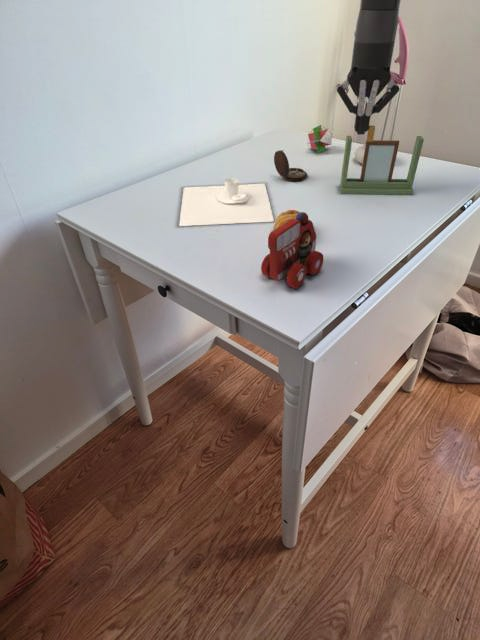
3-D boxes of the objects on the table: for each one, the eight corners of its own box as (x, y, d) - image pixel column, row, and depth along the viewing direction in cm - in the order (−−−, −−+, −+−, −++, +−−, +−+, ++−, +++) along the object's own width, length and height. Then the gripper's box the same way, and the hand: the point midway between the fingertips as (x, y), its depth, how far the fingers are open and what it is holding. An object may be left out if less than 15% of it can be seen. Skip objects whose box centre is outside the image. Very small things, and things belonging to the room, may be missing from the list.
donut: (386, 155, 117) (350, 154, 117) (389, 142, 115) (352, 142, 115) (395, 168, 110) (356, 168, 110) (398, 155, 107) (359, 154, 108)
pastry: (314, 247, 80) (315, 229, 78) (279, 249, 80) (279, 231, 78) (304, 224, 88) (305, 207, 85) (272, 226, 87) (272, 209, 85)
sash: (389, 184, 99) (401, 125, 90) (390, 186, 98) (403, 127, 89) (359, 184, 99) (368, 125, 91) (359, 186, 98) (369, 127, 90)
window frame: (408, 187, 100) (420, 134, 92) (411, 194, 97) (424, 140, 89) (339, 186, 102) (346, 134, 94) (340, 193, 99) (347, 140, 91)
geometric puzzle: (296, 142, 120) (313, 121, 114) (310, 136, 124) (326, 115, 117) (312, 162, 120) (329, 142, 113) (325, 155, 124) (342, 135, 117)
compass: (311, 178, 106) (314, 148, 101) (284, 185, 103) (285, 154, 98) (294, 168, 111) (296, 139, 107) (268, 174, 109) (268, 144, 104)
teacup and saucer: (251, 206, 95) (250, 188, 92) (215, 207, 95) (214, 190, 92) (248, 190, 101) (248, 173, 99) (215, 191, 101) (214, 174, 99)
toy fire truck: (328, 265, 76) (335, 211, 69) (287, 297, 69) (290, 241, 62) (296, 252, 79) (300, 200, 72) (254, 282, 72) (254, 227, 66)
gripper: (341, 41, 78) (330, 139, 89) (414, 40, 77) (394, 139, 88) (338, 36, 84) (328, 128, 95) (406, 34, 82) (389, 128, 94)
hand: (360, 133), depth 92 cm, fingers closed
